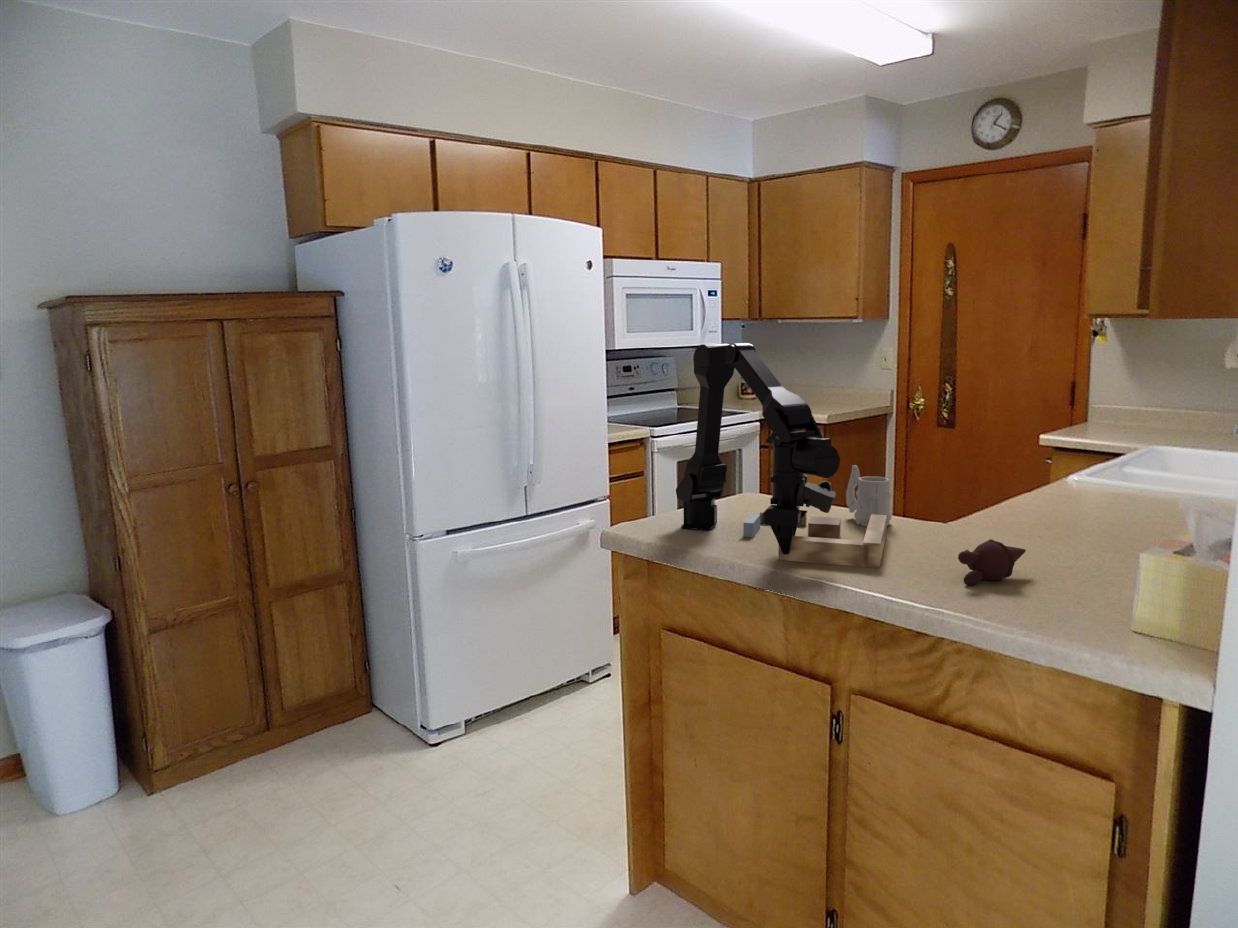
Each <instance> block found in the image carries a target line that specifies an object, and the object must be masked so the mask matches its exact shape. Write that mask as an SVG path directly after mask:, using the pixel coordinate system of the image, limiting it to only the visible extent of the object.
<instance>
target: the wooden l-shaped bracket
mask: <svg viewBox="0 0 1238 928" xmlns="http://www.w3.org/2000/svg"><path fill="white" fill-rule="evenodd" d="M886 521H887V515H874V514H871V517H870V520H869V524H868V527H866V530H865V534H864V538H863V540H859V539H846V538H845V539H841V538H840V539H831V538H817V537H808V536H800V535H799V536H798V535H795V536H793V537H792V542H791V547H790V552H789V554H788V555H787V554H783V553H782V551H781V548H780V546H779V545H778V550H777V552H778V555H777V556H778V557H777V559H778V561H790V562H802V563H811V564H813V563H815V564H826V565H839V566H850V567H863V568H876V569H880V568H881V562H882V559H883V558H882V557H883V553H884V548H885V544H886V539H887V526H886Z"/></svg>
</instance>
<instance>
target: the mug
mask: <svg viewBox="0 0 1238 928" xmlns="http://www.w3.org/2000/svg"><path fill="white" fill-rule="evenodd" d="M849 477H850V478H849V480H848V485H847V489H846V490H845V496H846V500H845V501H846V507H848V510H849V512H850V513H851V514H854V518H855V524H856V525H857V526H862V527H866V528H867V527H868V524H869V520H870V517H871V514H874V515H887V521H886V527H888V526H890V523H891V522H890V521H891V520H892V513H890V498H891V496H892V492H891V491H890V479H889V478H888V477H883V476H873V475H872V476H867V475H866V476H862V477H861V474H860V469H859V467H858V466H857V465H856V464H854V465H851V473H850V476H849ZM856 487H857V490H856V491H855V489H856Z"/></svg>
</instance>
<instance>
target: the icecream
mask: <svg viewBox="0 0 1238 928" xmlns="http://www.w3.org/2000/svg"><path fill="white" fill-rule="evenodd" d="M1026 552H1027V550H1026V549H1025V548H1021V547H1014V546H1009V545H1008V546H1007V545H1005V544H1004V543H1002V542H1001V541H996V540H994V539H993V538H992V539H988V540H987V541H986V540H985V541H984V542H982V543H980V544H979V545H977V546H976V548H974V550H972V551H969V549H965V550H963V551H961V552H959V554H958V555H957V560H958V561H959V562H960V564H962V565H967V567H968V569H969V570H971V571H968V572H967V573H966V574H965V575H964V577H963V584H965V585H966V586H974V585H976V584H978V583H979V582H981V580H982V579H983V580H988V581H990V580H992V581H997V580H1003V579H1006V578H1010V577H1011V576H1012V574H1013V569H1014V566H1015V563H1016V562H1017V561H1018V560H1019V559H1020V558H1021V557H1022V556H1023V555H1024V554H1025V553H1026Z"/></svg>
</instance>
